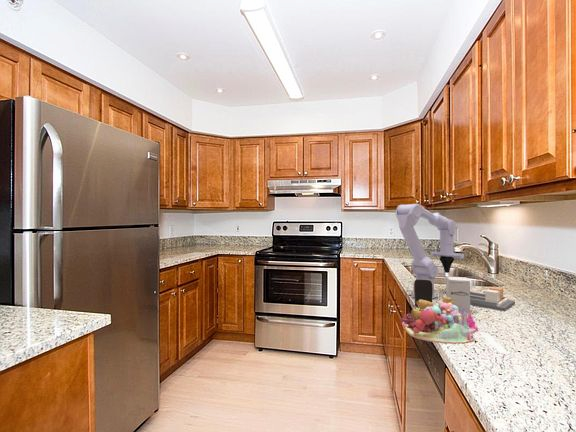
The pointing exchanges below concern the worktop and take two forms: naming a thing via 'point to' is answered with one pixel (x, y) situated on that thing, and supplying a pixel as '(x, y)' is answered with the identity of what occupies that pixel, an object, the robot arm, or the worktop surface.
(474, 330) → the candy landscape model
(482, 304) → the gray compartment tray
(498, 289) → the orange block
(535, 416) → the worktop surface
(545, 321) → the worktop surface
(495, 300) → the cream white block
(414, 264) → the robot arm
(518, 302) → the worktop surface
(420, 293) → the battery charger
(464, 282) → the supplement box
